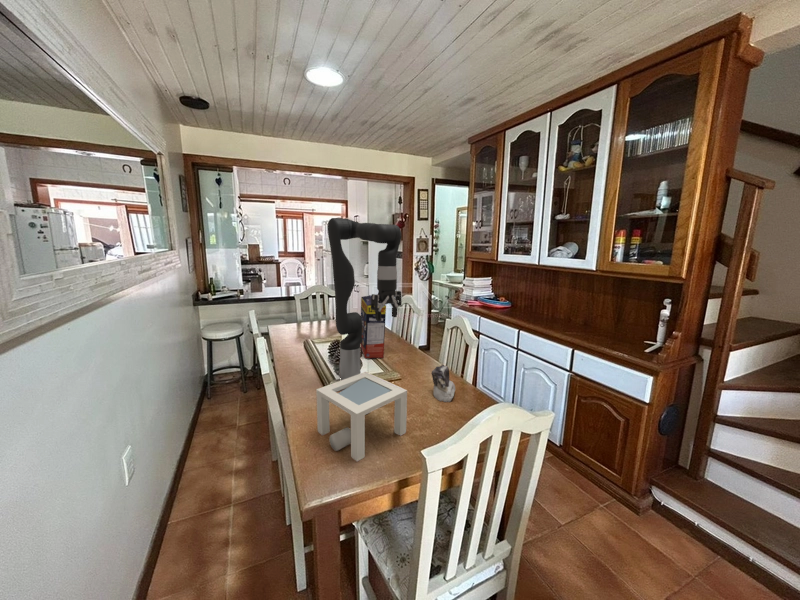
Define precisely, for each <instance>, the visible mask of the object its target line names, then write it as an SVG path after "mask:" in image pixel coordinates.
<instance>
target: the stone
mask: <svg viewBox="0 0 800 600" xmlns="http://www.w3.org/2000/svg"><path fill="white" fill-rule="evenodd" d="M431 378H432V383H433V397H434V398H435V399H436V400H438V401H439V402H442V401H443V402H444V403H451V402H452V400H453V398H454V395H455V391H456V385H455V383H454V382H453V381H451V380H450V369H449V367H448V366H447V365H444V364H442V365H439V366H435V368H434V369H432V370H431Z"/></svg>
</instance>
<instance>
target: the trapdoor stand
mask: <svg viewBox="0 0 800 600" xmlns="http://www.w3.org/2000/svg"><path fill="white" fill-rule="evenodd" d="M363 378H365V379H367V380H370V381H372V382H374V383H376V384H378V385H380V386H382V387H384V388H386V389H388V390H390V392H387V393H385V394H383V395H381V396H378V397H376V398H374V399H372V400H369V401H367V402H365V403H363V404H360V405H357V404H356V403H354V402H352V401H350V400H349V399H347V398H345V397H343V396H342V395H340V394H338V393H339V391H340V392H341V391H343V390H344V389H346V388H348V387H350V386H351V385H353V384H355V383H356V382H358V381H360V380H361V379H363ZM315 391H316V394H315V395H316V416H317V417H316V420H317V421H316V422H317V425H316V426H317V432H318V434H320V435H321V436H324V435H327V434H328V433H330V431H331V429H330V427H331V426H330V424H331V423H330V403H331V404H332V405H334V406H336V407H337V408H340V409H341V410H342V411H344V412H346V413H347V414H348V415H350V429H351V444H350V457H351V458H352V459H353V460H354V461H355V462H359V461H361V460H363V459H364V458H365V457H366V452H365V451H366V450H365V446H366V445H365V444H366V443H365V440H366V439H365V437H366V433H365V432H366V431H365V430H366V427H365V426H366V423H365V420H366V418H365V417H366V416H365V415H367V414H370V413H371V412H374V411H376V410H377V409H380V408H382V407H384V406H385V405H389V404H390V403H392V402H394V410H393V411H394V413H393V416H394V422H393V432H394V434H396V435H398V436H399V435H400V437H401V436H403V435H405V434H406V433H407V416H408V415H407V410H408V409H407V408H408V390H407V389H405V388H403V387H401V386H398V385H397V384H394V383H392V382H390V381H387V380H385V379H383V378H381V377H379V376H376V375H374V374H372V373H369V372H367V371H363V372H360V374H358V375H355V376H352V377H349V378H347V379H344V380H341V381H340V380H339V381H336V382H333V383H331V384H328V385H325V386H322V387H319V388H316V389H315Z"/></svg>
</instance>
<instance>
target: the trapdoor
mask: <svg viewBox="0 0 800 600" xmlns="http://www.w3.org/2000/svg"><path fill="white" fill-rule="evenodd" d="M387 392H390V390H388V389H386V388H384V387H382V386H380V385H378V384H376V383H374V382H372V381H370V380H367V379H365V378H363V379H361V380H360V381H358V382H356V383H355V384H353V385H351V386H350V387H347V388H345V389H342V390H340V392H339V391H338V392H337V393H338V394H340V395H342V396H343V397H345V398H347V399H349V400H350V401H352V402H354V403H356V404H357V405H360V404H363V403H365V402H367V401H369V400H372V399H374V398H376V397H378V396H381V395H383V394H385V393H387Z"/></svg>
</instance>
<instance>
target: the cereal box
mask: <svg viewBox="0 0 800 600" xmlns="http://www.w3.org/2000/svg"><path fill="white" fill-rule="evenodd" d="M371 295H372V294H371ZM371 295H370V294H369V295H365V296H361V298H360V316H361V318H362V341H361V347H360V350H361V351H362V354H363V356H364V358H365V360H372V359H373V360H377V359H376V358H378V359H384V356H385V355H384V354H385V337H386V336H385V335H386V331H385V330H386V316H387V315H386V314H387V313H386V311H387V304H385V305H384V307H382V309H381V321H377V320H376V319H375V310H371ZM380 303H381V302H380Z"/></svg>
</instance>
